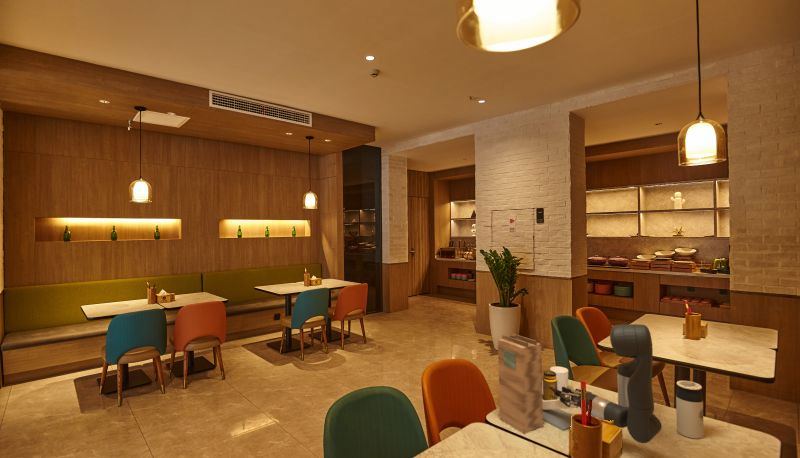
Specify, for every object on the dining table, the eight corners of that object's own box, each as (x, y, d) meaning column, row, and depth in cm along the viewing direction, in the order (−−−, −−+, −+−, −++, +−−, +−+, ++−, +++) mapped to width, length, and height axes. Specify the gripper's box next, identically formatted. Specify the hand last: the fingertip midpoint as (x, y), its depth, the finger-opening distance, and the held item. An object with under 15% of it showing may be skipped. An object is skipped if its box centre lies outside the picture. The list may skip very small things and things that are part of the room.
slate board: (545, 403, 172) (545, 402, 172) (584, 422, 156) (584, 420, 156) (525, 410, 167) (525, 409, 167) (563, 430, 150) (563, 429, 150)
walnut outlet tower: (518, 413, 165) (516, 332, 164) (543, 426, 153) (541, 339, 153) (499, 419, 160) (497, 336, 159) (523, 434, 148) (521, 344, 148)
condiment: (559, 403, 173) (558, 375, 172) (538, 401, 175) (537, 374, 175) (557, 396, 180) (557, 369, 179) (537, 394, 182) (537, 368, 182)
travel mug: (671, 431, 148) (670, 382, 147) (685, 426, 151) (684, 378, 151) (694, 441, 140) (693, 390, 140) (708, 436, 143) (707, 386, 143)
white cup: (571, 394, 181) (571, 372, 181) (554, 394, 181) (553, 372, 181) (564, 387, 189) (564, 366, 189) (548, 387, 189) (547, 366, 189)
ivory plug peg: (544, 408, 167) (542, 400, 168) (581, 406, 152) (578, 397, 153) (539, 409, 166) (537, 402, 167) (576, 407, 150) (573, 399, 151)
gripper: (610, 392, 147) (570, 377, 162) (584, 401, 140) (545, 384, 155) (610, 412, 147) (570, 395, 162) (585, 422, 140) (546, 404, 155)
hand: (558, 390), depth 159 cm, fingers open, 4 cm apart
